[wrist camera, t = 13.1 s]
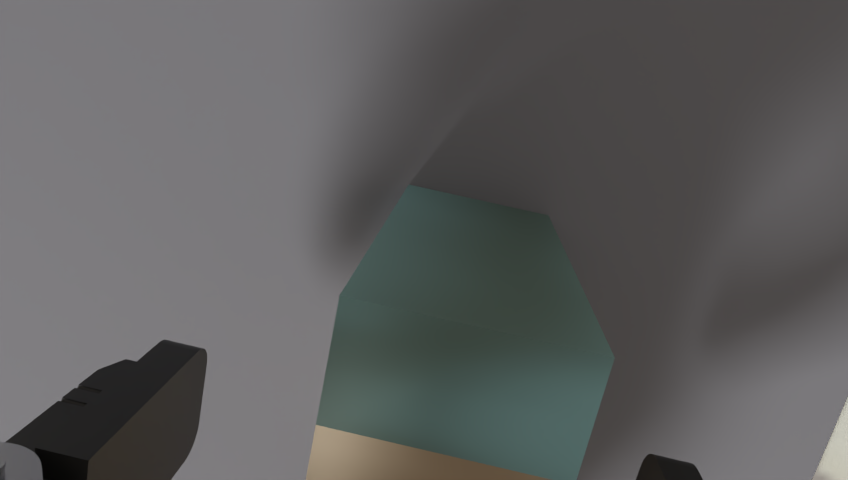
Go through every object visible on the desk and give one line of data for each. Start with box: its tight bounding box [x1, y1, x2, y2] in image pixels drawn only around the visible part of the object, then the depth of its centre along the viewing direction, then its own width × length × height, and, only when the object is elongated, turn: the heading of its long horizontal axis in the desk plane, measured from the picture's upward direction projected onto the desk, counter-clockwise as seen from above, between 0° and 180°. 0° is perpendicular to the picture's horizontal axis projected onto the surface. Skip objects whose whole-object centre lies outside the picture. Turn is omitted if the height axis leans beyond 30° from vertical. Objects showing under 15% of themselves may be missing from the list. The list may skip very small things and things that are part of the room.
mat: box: [0, 0, 848, 480], centre depth 15 cm, size 20×26×1 cm
